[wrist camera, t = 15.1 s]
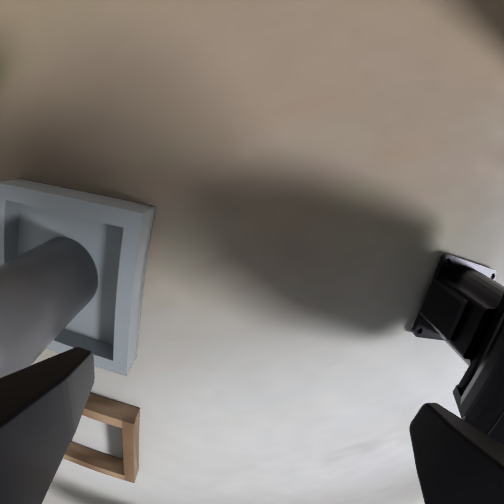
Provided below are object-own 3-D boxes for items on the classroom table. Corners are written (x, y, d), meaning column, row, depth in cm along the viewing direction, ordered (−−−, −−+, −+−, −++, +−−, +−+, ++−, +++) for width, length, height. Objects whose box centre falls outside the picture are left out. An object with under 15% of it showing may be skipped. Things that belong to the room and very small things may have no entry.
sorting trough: (155, 206, 19) (143, 213, 16) (136, 356, 22) (126, 376, 19) (18, 178, 18) (-3, 182, 15) (17, 314, 21) (1, 328, 18)
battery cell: (111, 271, 19) (-33, 421, 5) (78, 320, 20) (-36, 462, 6) (56, 221, 18) (-118, 309, 4) (29, 274, 19) (-108, 378, 5)
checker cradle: (139, 408, 23) (133, 424, 21) (138, 468, 26) (134, 483, 24) (37, 371, 22) (27, 384, 20) (52, 438, 25) (45, 450, 23)
